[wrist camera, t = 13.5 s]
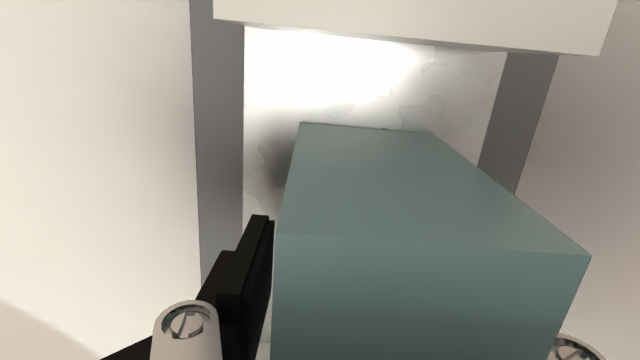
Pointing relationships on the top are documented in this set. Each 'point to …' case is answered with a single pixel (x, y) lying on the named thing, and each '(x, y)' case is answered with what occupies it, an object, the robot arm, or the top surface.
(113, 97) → the top surface
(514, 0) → the block
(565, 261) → the block
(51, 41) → the top surface
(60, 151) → the top surface
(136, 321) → the top surface
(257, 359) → the block
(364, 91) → the board
